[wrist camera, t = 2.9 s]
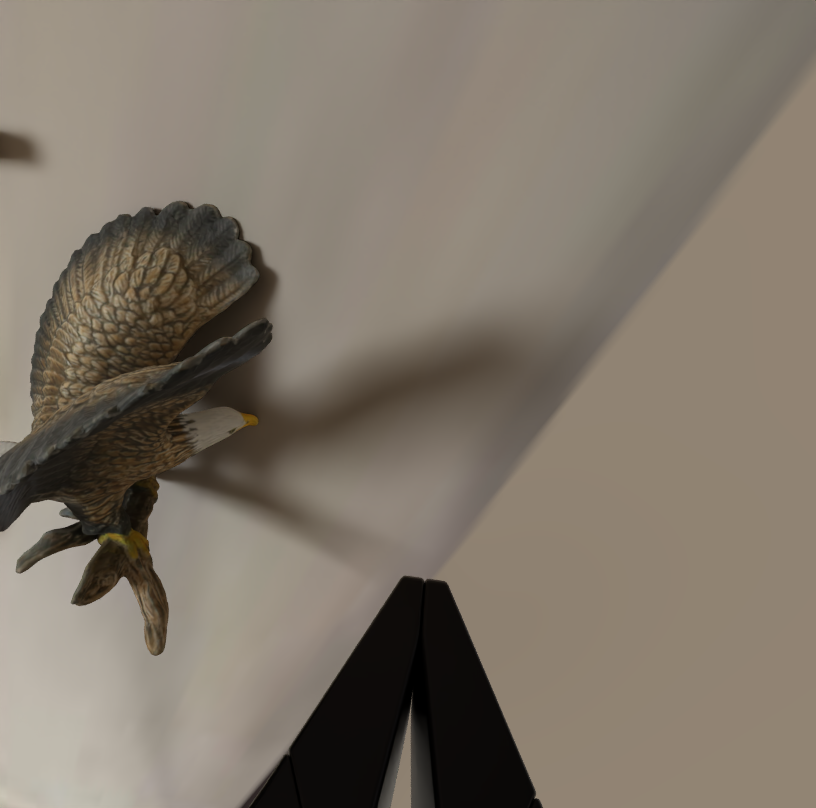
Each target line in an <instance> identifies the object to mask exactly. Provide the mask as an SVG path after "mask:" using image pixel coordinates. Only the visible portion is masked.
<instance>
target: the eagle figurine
mask: <svg viewBox="0 0 816 808" xmlns="http://www.w3.org/2000/svg"><path fill="white" fill-rule="evenodd" d="M238 235H239V228H238V225H237V222H236V221H235V220H234V219H233V218H232V217H221V215H220V213H219V211H218V209H217V208H216V207H215V206H214V205H211V204H203V205H201V206H199V207H197V208H195V209H189V208H188V205H187V204H186V203H185V202H182V201H177V202H172V203H171V204H169V205H168V206H166V207H165V208H164V209H163V210H162V211H161V212H160V214H159V215H158V216H156V215H155V213H154V210H153V209H152V208H151V207H144V208H142V209H141V210H140V211H139V212H138V213H137V214H136V215H135V216H134V217H131V215H129V214H123V215H119V216H118V217H117V219H116V220H114V221H112V222H108V223H106V224H105V225H104V226H103V227H102V229H101V231H100V233H96V234H91V235H90V236H89V237H88V238H87V240H86V242H85V243H84V245H83V247H82V248H81V249H80V250H75V251H74V253H73V254H72V256H71V260H70V262H69V264H68V267H67V268H66V269H65V270H64V271H63V272H62V273H61V275H60V278H59V280H58V281H57V282H56V283H55V284H54V287H53V296H52V299H49V300H48V302H47V304H46V309H45V312H44V313H43V314H42V315H41V317H40V328H39V330H38V331H37V332H36V342H35V345H34V354H33V356H32V359H31V360H32V361H31V363H32V371H31V374H30V382H31V391H30V396H31V398H32V401H33V404H32V406H31V409H32V414H33V416H34V417H35V418H34V421H33V423H32V431H31V433H30V434H29V435H28V436H26V437H25V438H24V440H23V441H21V442H20V443H16V442H10V441H7V442H5V441H1V442H0V532H1V531H4V530H6V529H7V528H8V527H9V526H10V525H11V524H12V523H13V522H14V521H15V520H16V519H17V518H18V517H19V516H20V515H21V514H22V512H23V511H24V510H25V509H26V508H27V507H28V506H29V505H30V504H31V503H34V502H40V501H44V500H53V501H57V502H64V504H65V505H66V506H67V508H65V509H63V510H61V511H60V513H59V514H60V515H61V516H62V517H68V518H72V519H77V520H80V521H79V522H77V523H75V524H73V525H70V526H68V527H65V528H60V529H54V530H51V531H48V532H46V533H45V534H43V536H42V537H41V539H40V540H39V541H38V542H37V543H36V544H35V545H34V546H33V547H32V548H30V549H29V550H28V551H26V552H25V553H24V554H23V555H22V556H21V557H20V558H19V559H18V560H17V566H16V572H17V573H23V572H24V571H26V570H28V569H29V568H30V567H32V566H33V565H34V564H35V563H37V562H38V561H39V560H41V559H43V558H45V557H47V556H50V555H52V554H54V553H57V552H59V551H62V550H65V549H68V548H71V547H76V546H82V545H86V544H88V543H90V542H92V541H93V540H95V539H97V540H98V543H99V544H100V545H101V547H100V548H99V549H98V551H97V552H96V553H95V555H94V556H93V558H92V559H91V560H90V562H89V563H88V564H87V566H86V568H85V570H84V573H83V576H82V579H81V581H80V583H79V585H78V587H77V589H76V591H75V593H74V595H73V598H72V601H71V604H76V605H78V606H82V605H87V604H90V603H92V602H94V601H96V600H98V599H100V598H101V597H103V596H104V595H105V594H107V593H108V592H109V591H110V590H111V589H112V588H113V587H114V586H115V585H116V584H117V583H118V581H119V580H120V578H121V577H123V576H124V577H126V578H127V579H128V581H129V583H130V585H131V587H132V589H133V591H134V594H135V596H136V598H137V600H138V603H139V605H140V608H141V612H142V615H143V617H144V620H145V626H144V634H145V641H146V645H147V648H148V650H149V651H150V653H151V654H152V655H155V656H157V655H159V654H161V653H162V652H163V651H164V648H165V643H166V634H167V623H168V613H169V608H168V602H167V599H166V593H165V590H164V588H163V586H162V583H161V581H160V579H159V577H158V575H157V574H156V573H155V571H154V569H153V562H152V557H151V555H150V553H149V551H150V550H149V542H148V540H147V531H148V517H149V516H150V514H151V512H152V510H153V504H154V503H156V501H157V499H158V494H157V490H158V489H159V484H158V482H157V480H156V474H159V473H162V472H164V471H166V470H168V469H171V468H173V467H175V466H177V465H179V464H181V463H182V462H184V461H185V460H186V459H187V458H189V457H191V456H193V455H195V454H197V453H198V452H200V451H202V450H203V449H205V448H207V447H209V446H211V445H213V444H215V443H217V442H219V441H221V440H223V439H225V438H227V437H229V436H231V435H232V434H234V433H235V432H236V431H238V430H240V429H241V428H243V427H245V426H248V425H251V426H256V425H257V424H258V422H259V421H258V418H257V417H256V416H254V415H252V414H244V413H240V412H238V411H236V410H234V409H233V408H230V407H216V408H211V409H207V410H202V411H198V412H193V413H189V414H180V413H181V412H183V411H184V410H186V409H187V408H189V407H190V406H192V405H193V404H194V403H196V402H197V401H198V400H200V399H201V398H203V396H204V395H205V394H206V393H207V392H208V391H209V390H210V388H211V387H212V386H213V384H214V383H215V382H216V381H217V380H218V379H219V378H220V377H221V376H223V375H224V374H226V373H227V372H229V371H231V370H233V369H235V368H237V367H239V366H240V365H242V364H244V363H245V362H247V361H248V360H250V359H251V358H252V357H254V356H256V355H258V354H259V353H260V352H261V351H262V350H263V349H264V348H265V347H266V346H267V345H268V344H269V343H270V342H271V340H272V333H271V330H272V327H273V326H272V323H269V321H268V320H267V319H266V318H263V319H260V320H257V321H255V322H253V323H251V324H249V325H247V326H246V327H245V328H243V329H242V330H240V331H239V332H238V333H237V334H235V335H234V336H233V337H222V338H219V339H218V340H216V341H214V342H212V343H210V344H209V345H207V346H206V347H205V348H203V349H202V350H201V351H200V352H198V353H197V354H196V355H195V356H193V357H189V358H187V359H185V360H184V361H183V362H176V363H172V362H173V361H174V359H175V358H176V357H177V355H178V354H179V353H180V351H181V350H182V349H183V348H184V347H185V345H186V344H187V342H188V341H189V339H190V338H191V337H192V336H193V335H194V334H195V333H196V331H197V330H198V329H199V328H200V327H201V326H202V325H203V324H205V323H207V322H208V321H210V320H211V319H212V318H214V317H215V316H217V315H218V314H219V313H221V312H223V311H224V310H226V309H227V308H228V307H229V306H230V305H231V304H232V303H233V302H234V301H236V300H238V299H239V298H240V297H242V296H243V295H244V294H245V293H247V292H248V291H249V289H250V288H251V287H252V286H253V285H254V284H255V283H256V282H257V281H258V279H259V277H260V276H259V272H258V270H257V269H256V268H255V267H254V266H252V265H251V263H250V262H251V256H252V248H251V246H250V245H249V244H248V243H246V242H244V241H241V240H238ZM171 363H172V364H171Z"/></svg>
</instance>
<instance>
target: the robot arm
mask: <svg viewBox="0 0 816 808" xmlns="http://www.w3.org/2000/svg"><path fill="white" fill-rule="evenodd" d="M412 692H413V693H412ZM411 699H412V707H411ZM410 707H411V808H543V807H542V804H541V802H540V800H539V799H537V798H536V799H534V798H535V796H536V791H535V789H534V786H533V784H532V782H531V779H530V777H529V775H528V772H527V770H526V767H525V765H524V763H523V760H522V758H521V755H520V753H519V751H518V749H517V746H516V744H515V741H514V739H513V737H512V734H511V732H510V729H509V727H508V725H507V723H506V720H505V718H504V715H503V713H502V711H501V708H500V706H499V704H498V701H497V699H496V696H495V694H494V692H493V690H492V687H491V685H490V682H489V680H488V678H487V675H486V673H485V671H484V668H483V666H482V664H481V661H480V659H479V657H478V654H477V652H476V649H475V647H474V645H473V642H472V640H471V638H470V635H469V633H468V631H467V628H466V626H465V623H464V621H463V619H462V616H461V614H460V612H459V609H458V607H457V605H456V602H455V600H454V598H453V595H452V593H451V591H450V588H449V586H448V584H447V583H446V582H445V581H440V580H433V579H427V580H426V581H425V583H424V580H423V579H422V578H419V577H412V576H403V577H402V578H401V579H400V581H399V582H398V584H397V585H396V587H395V588H394V590H393V591H392V593H391V594H390V596H389V597H388V599H387V600H386V602H385V603H384V605H383V606H382V608H381V609H380V611H379V613H378V614H377V616H376V617H375V619H374V620H373V622H372V623H371V625H370V626H369V628H368V629H367V631H366V632H365V634H364V635H363V637H362V638H361V640H360V641H359V643H358V644H357V646H356V647H355V649H354V650H353V652H352V653H351V655H350V656H349V658H348V660H347V661H346V663H345V664H344V666H343V667H342V669H341V670H340V672H339V673H338V675H337V676H336V678H335V679H334V681H333V682H332V684H331V685H330V687H329V688H328V690H327V691H326V693H325V694H324V696H323V697H322V699H321V700H320V702H319V703H318V705H317V707H316V708H315V710H314V711H313V713H312V714H311V716H310V717H309V719H308V720H307V722H306V723H305V725H304V726H303V728H302V729H301V731H300V732H299V734H298V735H297V737H296V738H295V740H294V741H293V743H292V744H291V746H290V747H289V750H288V752H289V755H288V754H285V755H284V756H283V758H282V759H281V761H280V762H279V764H278V765H277V767H276V768H275V770H274V771H273V773H272V774H271V776H270V777H269V779H268V780H267V782H266V783H265V785H264V786H263V788H262V789H261V791H260V792H259V793H258V795H257V796H256V798H255V799H254V801H253V802H252V803H251V805H250V807H249V808H390V806H391V802H392V797H393V792H394V788H395V783H396V778H397V773H398V768H399V763H400V758H401V754H402V749H403V744H404V739H405V734H406V730H407V725H408V719H409V713H410Z"/></svg>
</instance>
